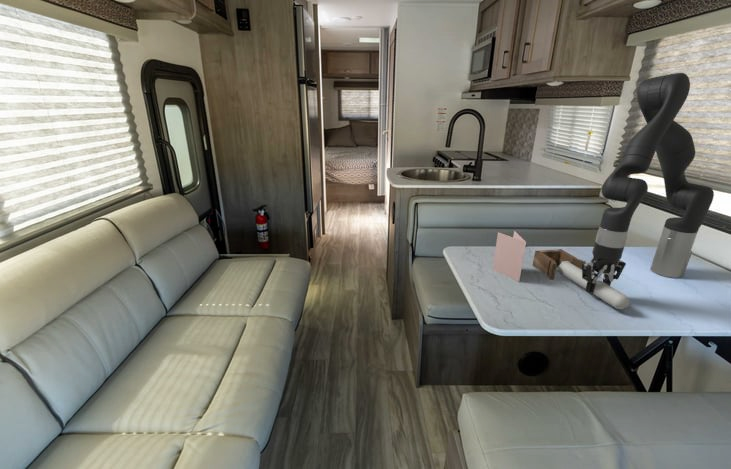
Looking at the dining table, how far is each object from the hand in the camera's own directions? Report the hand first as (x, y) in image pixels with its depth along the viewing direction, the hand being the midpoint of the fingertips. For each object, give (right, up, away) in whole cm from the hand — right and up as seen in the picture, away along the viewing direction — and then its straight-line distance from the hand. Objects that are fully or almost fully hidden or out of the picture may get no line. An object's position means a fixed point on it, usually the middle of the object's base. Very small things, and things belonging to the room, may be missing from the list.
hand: (596, 291), depth 114 cm
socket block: (-3, +5, +18) cm, 19 cm away
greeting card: (-23, +3, +15) cm, 28 cm away
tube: (0, 0, +2) cm, 3 cm away
